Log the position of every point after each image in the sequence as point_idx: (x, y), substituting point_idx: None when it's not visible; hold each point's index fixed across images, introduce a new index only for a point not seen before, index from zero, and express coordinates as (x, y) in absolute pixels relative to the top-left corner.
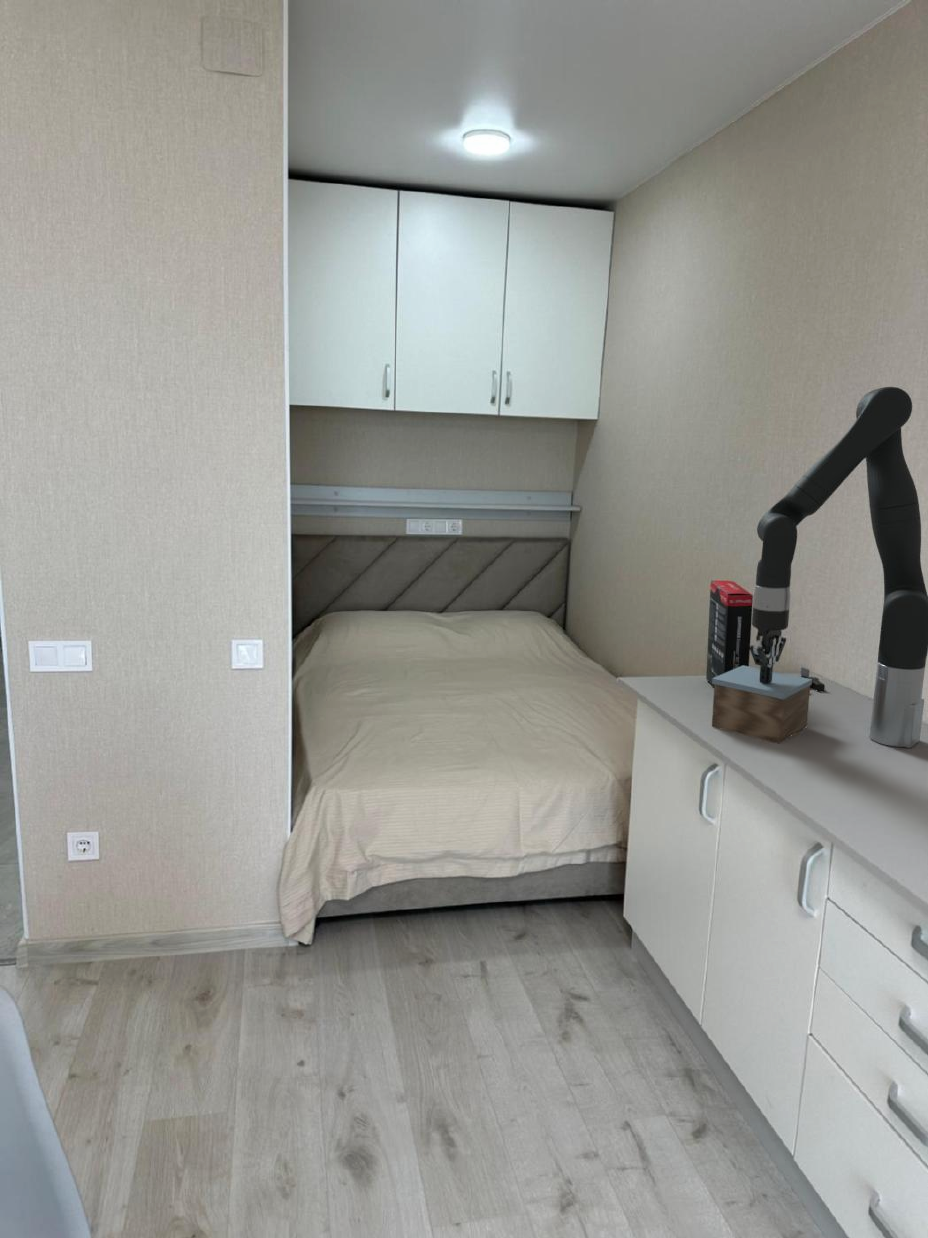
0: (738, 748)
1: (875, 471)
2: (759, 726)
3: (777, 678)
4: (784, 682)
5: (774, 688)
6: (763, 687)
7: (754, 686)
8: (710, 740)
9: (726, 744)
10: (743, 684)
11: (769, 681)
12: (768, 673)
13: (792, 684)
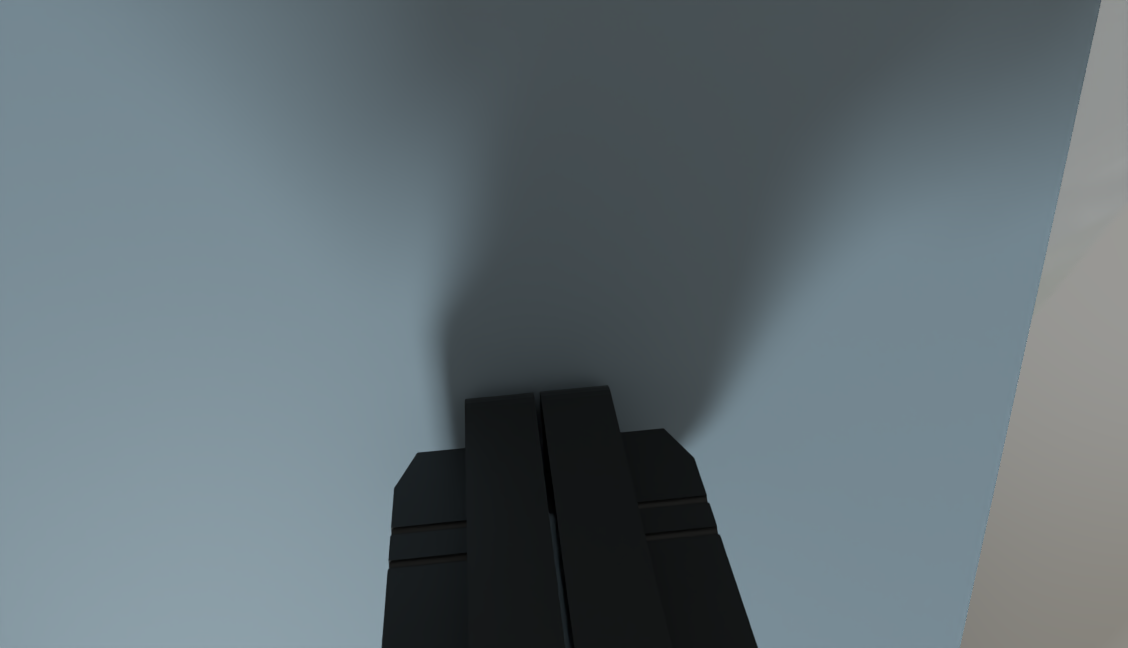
0: (1121, 5)
1: None
2: None
3: (69, 464)
4: (195, 225)
5: (819, 133)
6: (897, 317)
7: (939, 446)
8: (1048, 288)
9: (1073, 144)
10: (928, 600)
11: (588, 400)
12: (643, 552)
13: (158, 5)
